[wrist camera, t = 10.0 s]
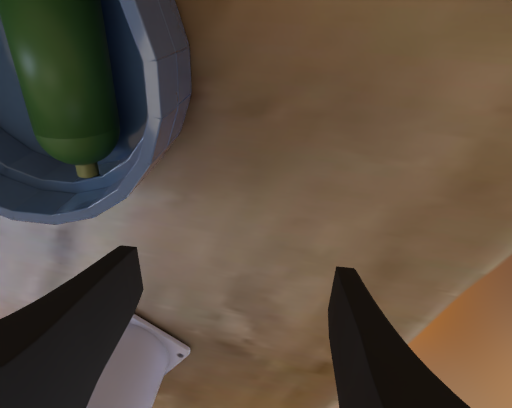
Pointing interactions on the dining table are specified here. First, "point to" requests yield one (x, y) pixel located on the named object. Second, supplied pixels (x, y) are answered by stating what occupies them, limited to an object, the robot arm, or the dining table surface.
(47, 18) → the zucchini
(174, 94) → the bowl
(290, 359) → the dining table surface
